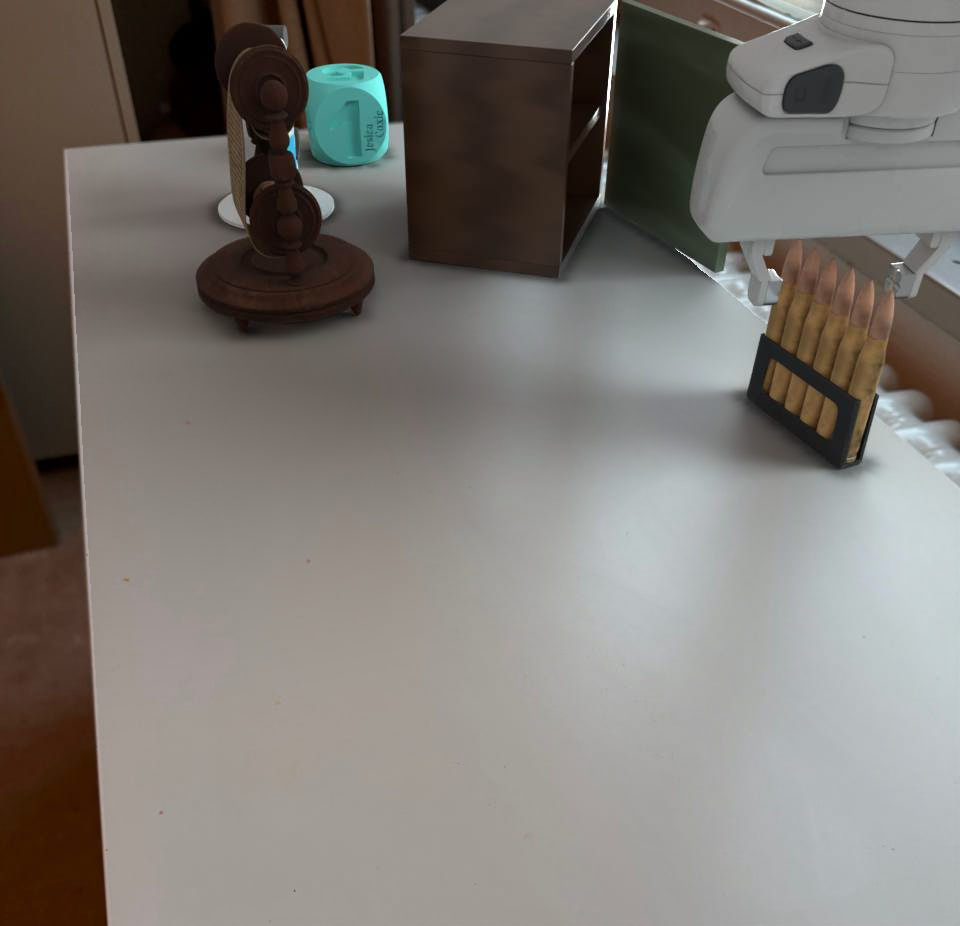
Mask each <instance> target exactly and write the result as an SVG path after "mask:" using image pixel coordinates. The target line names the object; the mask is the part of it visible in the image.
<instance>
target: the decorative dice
mask: <svg viewBox="0 0 960 926" xmlns="http://www.w3.org/2000/svg"><path fill="white" fill-rule="evenodd" d="M306 76H307V79H308V84H309V97H308V102H307V105H306V108H305V110H304V112H305V118H306V119H305V120H306V126H307V127H306V128H307V133H308V140H309V145H310V150H311V154H312V157H313V158H315V159H316V160H317V161H319V162H321V163H323V164H325V165H329V166H330V165H331V166H337V167H338V166H339V167H354V166H357V167H358V166H363V165H368V164H372V163H375V162H377V161H378V160H380V159H382V157H383V156H385V154H386V152H387V151H388V149H389V142H390V141H389V139H390V138H389V137H390V136H389V133H390V131H389V128H390V127H389V111H388V102H387V95H386V89H385V83H384V80H383V76H382V73H381V72H380V71H379V70H378V69H377V68H374V67H373V66H370V65H365V64H358V63H331V64H324V65H320V66H316V67H314V68H311V69H310V70H308V71H307V72H306Z"/></svg>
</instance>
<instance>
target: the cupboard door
mask: <svg viewBox="0 0 960 926" xmlns="http://www.w3.org/2000/svg"><path fill="white" fill-rule="evenodd" d="M619 14H620V15H619V24H618V25H619V27H618V35H617V36H618V38H617V48H616V59H615V71H614V84H613V94H612V96H613V97H612V105H611V117H610V127H609V141H608V152H607V162H606V175H605V184H604V197H603V206H606V207H608V209H610V210H612V211H614V212H615V213H617V214H618V215H620V216H621V217H624V218H625V219H627V220H629V221H630V222H631V223H633V224H635V225H637V226H638V227H640V228H641V229H643V230H644V231H646V232H648V233H649V234H651V235H653V236H654V237H655V238H657V239H659V240H661V241H662V242H663V243H665V244H667V245H669V246H671V247H672V248H674V249H675V250H677V251H678V252H680V253H681V254H683V255H685V256H687V257H688V258H690V259H691V260H693V261H694V262H696V263H698V264H700V265H701V266H703V267H704V268H706V269H708V270H709V271H711V272H712V273H714V274H716V273H721V272H724V270H725V266H726V260H727V253H728V248H729V247H728V246H729V242H713V241H711V240H710V239H709V238H708V237H707V236H706V235H705V234H704V233H703V232H702V230H701V229H700V228H699V227H698V225H697V224H696V222H695V220H694V219H693V217H692V215H691V211H690V196H691V190H692V184H693V179H694V174H695V169H696V165H697V160H698V156H699V152H700V148H701V145H702V141H703V138H704V134H705V131H706V128H707V125H708V122H709V120H710V118H711V116H712V114H713V112H714V110H715V109H716V107H717V106H718V105H719V103H720V102H721V101H722V100H723V99H724V98H726V97H727V96H729V95H730V94H732V93H734V92H735V91H734V90H733V89H732V87H731V86H730V84H729V82H728V81H727V77H726V69H727V62H728V58H729V55H730V53H731V51H732V50H733V49H734V48H735V47H737V46H738V45H740V44H742V43H744V42H745V41H742V40H739V39H737V38H734V37H731V36H729V35H726V34H724V33H721V32H718V31H716V30H713V29H710V28H707V27H705V26H702V25H699V24H697V23H694V22H692V21H689V20H686V19H684V18H681V17H678V16H675V15H673V14H671V13H668V12H665V11H663V10H660V9H657V8H654V7H652V6H649V5H646V4H644V3H642V2H638V1H636V0H621V3H620V13H619Z"/></svg>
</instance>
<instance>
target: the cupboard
mask: <svg viewBox="0 0 960 926" xmlns="http://www.w3.org/2000/svg"><path fill="white" fill-rule="evenodd" d="M617 10H618V0H446V1H444V2H443V3H442V4H440V5H439V6H437V7H436V8H434V9H433V10H432V11H431V12H429V13H428V14H427V15H426V16H424V17H422V18H421V19H419V21H417V22H415V23H414V24H413V25H412V26H410V27H409V28H408V29H406V30H405V31H403V32H402V33H401V34H399V54H400V55H399V56H400V78H401V80H400V81H401V101H402V102H401V104H402V124H403V125H402V126H403V127H402V128H403V147H404V149H403V151H404V174H405V175H404V177H405V198H406V199H405V200H406V220H407V242H408V243H407V245H408V259H410V260H417V261H424V262H433V263H441V264H446V265H447V264H448V265H456V266H463V267H471V268H478V269H479V268H480V269H487V270H493V271H501V272H508V273H515V274H517V273H518V274H524V275H531V276H538V277H545V278H553V279H559V278H560V277H561V275H562V274H563V271H564V269H565V268H566V266H567V264H568V263H569V260H570V259H571V257H572V255H573V253H574V251H575V250H576V248H577V246H578V245H579V242H580V241H581V239H582V237H583V235H584V234H585V232H586V230H587V228H588V227H589V225H590V223H591V221H592V219H593V218H594V216H595V214H596V212H597V210H598V209H599V207H600V205H601V198H602V187H603V186H602V185H603V175H604V163H605V150H606V142H607V141H606V139H607V129H608V117H609V115H608V114H609V103H610V92H611V81H612V68H613V59H614V58H613V56H614V46H615V34H616V33H615V32H616V24H617V23H616V22H617Z"/></svg>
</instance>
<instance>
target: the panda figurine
mask: <svg viewBox="0 0 960 926" xmlns="http://www.w3.org/2000/svg"><path fill="white" fill-rule="evenodd" d="M265 25H266V26H267V27H269V28H271V29H272V30H273V31H274V32H276V33H277V35H278V36H279V37H280V38H281V40H282V41H283V43H284V44H285V47H286V49H287V48H289V35H288V29H287V26H286V25H285V24H265ZM287 50H288V49H287ZM242 122H243V133H244V143H245V160H246V161H247V160H249V159H250V158H252V157H254V154H255V147H256V145H254V144H252V143H251V138H250V137H249V136H248V133H247V129H246V124H245V121H244V120H243V119H242ZM288 134H289V138H290V144H289V147H288V149H287V150H289V151H291V152H292V153H293V155H294V158H295V162H296V168H297V169H298V170H299V164H298V161H299V160H300V156H301V137H300V130H299V128H298V127H295V125H294V126H293V128H292V130H291V131H290V132H289V133H288ZM303 187H305V188H306V189H307V190H309V191H310V192H311V193H312V194H313V195H314V197H315V198H316V200H317V201H318V204H319V206H320V209H321V213H322V221H324V220H326V219H327V218H328V217H330V216H331V215H332V213H333V212H334V210H335V200H334V198H333V196H332V195H331V194H330V193H328V192H326V191H324V190H323V189H320V188H318V187H314V186H311V185H304V184H303ZM217 211H218V215H219V217H220V219H221V220H222V221H223V222H224V223H226V224H228V225H230V226H233V227H235V228H238V229H243V230H245V228H244V225H243V223H242V221H241V219H240V217H239V215H238V212H237V210H236V207H235V204H234V201H233V196H232V193H230V194H228V195H226V196H225V197H224V198H222V199H221V201H220V202H219V204H218V205H217ZM246 221H247V223H248V224H249V225H250V223H249V217H248V216H247V215H246Z"/></svg>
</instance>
